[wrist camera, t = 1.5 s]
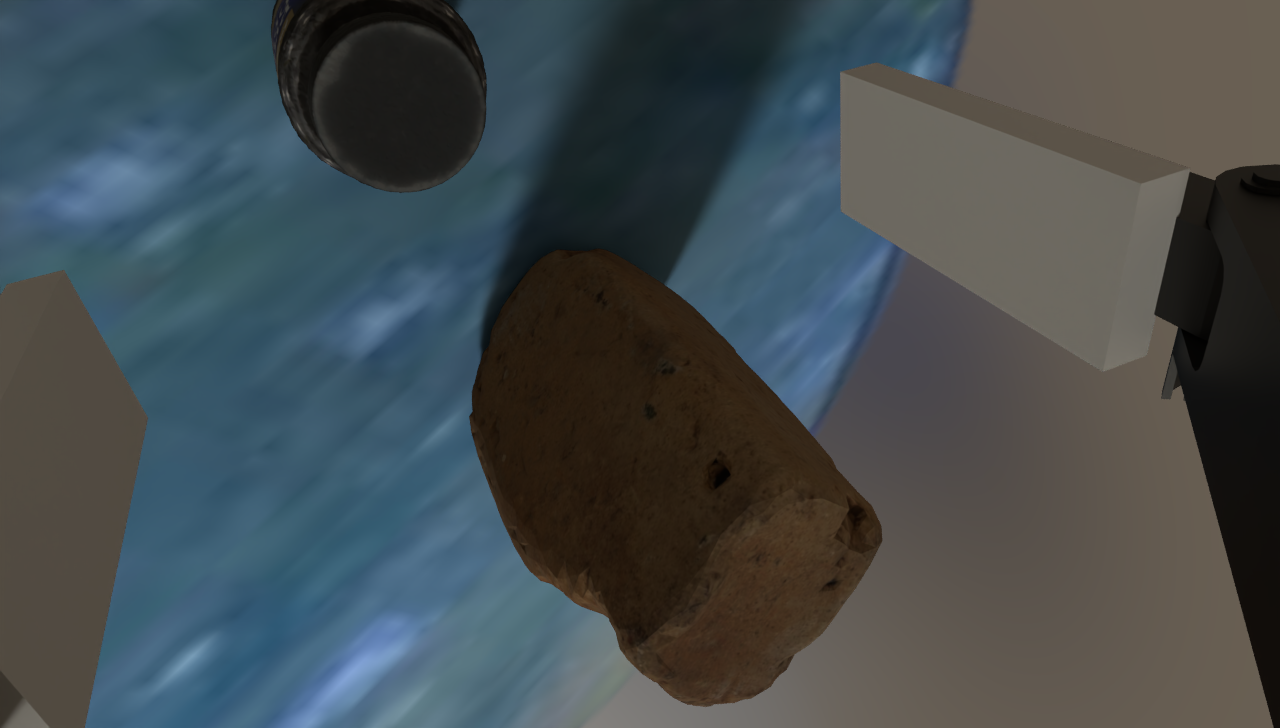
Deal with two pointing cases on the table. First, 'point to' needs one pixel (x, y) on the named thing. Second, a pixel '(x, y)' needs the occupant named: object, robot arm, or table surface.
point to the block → (662, 479)
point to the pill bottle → (382, 87)
